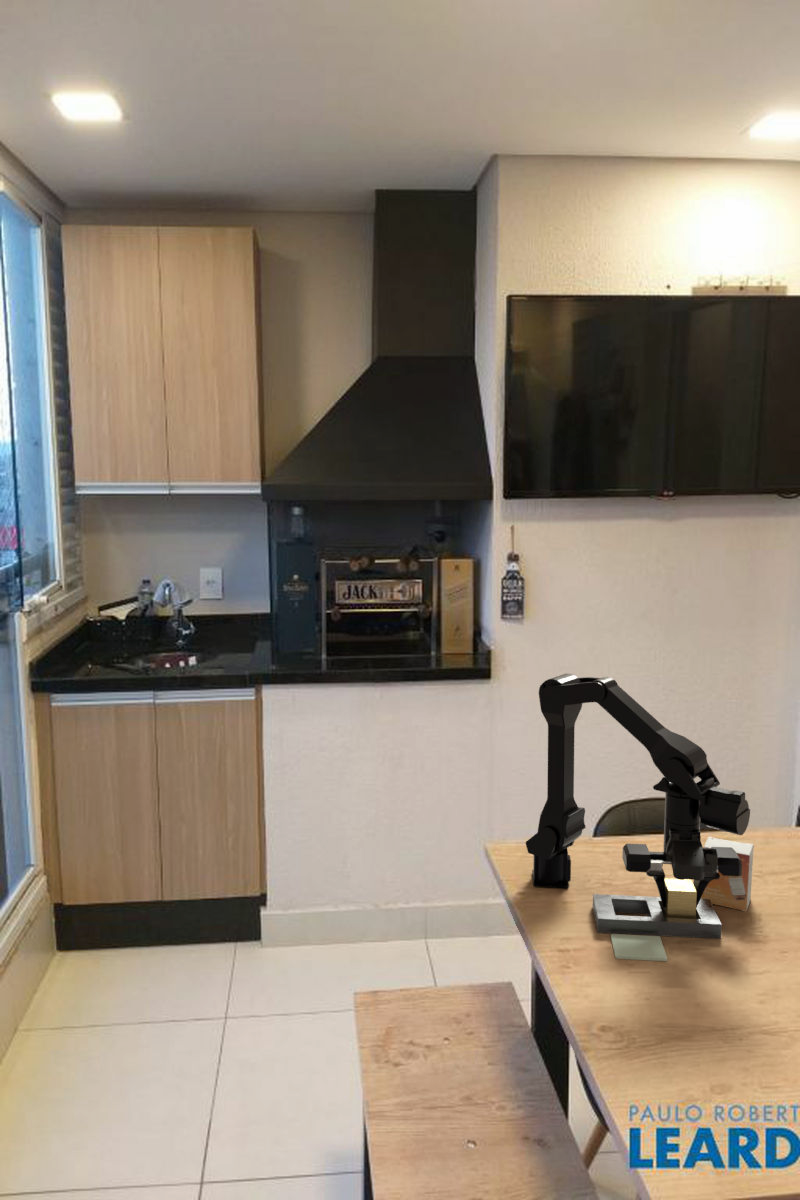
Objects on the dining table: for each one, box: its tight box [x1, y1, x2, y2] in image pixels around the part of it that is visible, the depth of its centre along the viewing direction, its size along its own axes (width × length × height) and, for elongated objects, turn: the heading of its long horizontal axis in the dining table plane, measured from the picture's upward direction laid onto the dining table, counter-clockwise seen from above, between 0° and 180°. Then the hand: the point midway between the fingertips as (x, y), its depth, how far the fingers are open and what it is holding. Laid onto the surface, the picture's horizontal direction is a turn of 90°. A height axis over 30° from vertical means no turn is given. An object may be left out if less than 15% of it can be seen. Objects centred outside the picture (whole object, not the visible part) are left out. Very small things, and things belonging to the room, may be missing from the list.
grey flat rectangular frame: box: [592, 893, 723, 940], centre depth 155 cm, size 20×9×2 cm, turn 83°
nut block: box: [663, 878, 697, 919], centre depth 154 cm, size 5×5×7 cm
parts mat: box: [610, 933, 668, 962], centre depth 146 cm, size 8×7×1 cm
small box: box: [701, 836, 755, 912], centre depth 162 cm, size 8×6×10 cm
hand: (679, 906), depth 154 cm, fingers closed on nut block, 5 cm apart
